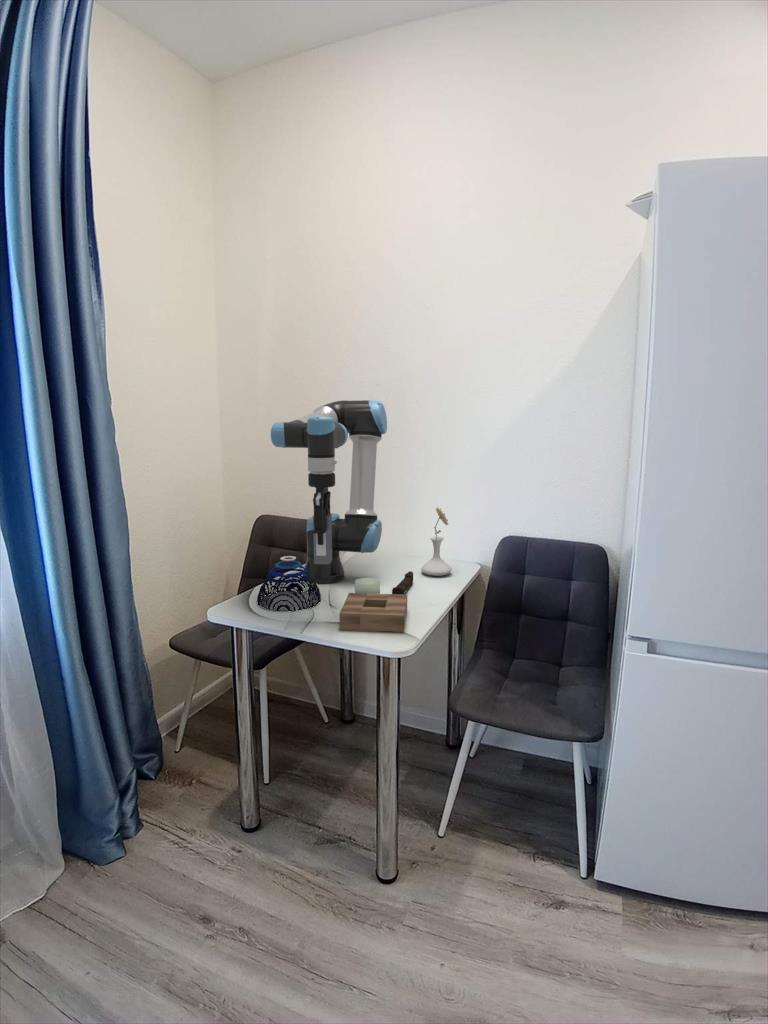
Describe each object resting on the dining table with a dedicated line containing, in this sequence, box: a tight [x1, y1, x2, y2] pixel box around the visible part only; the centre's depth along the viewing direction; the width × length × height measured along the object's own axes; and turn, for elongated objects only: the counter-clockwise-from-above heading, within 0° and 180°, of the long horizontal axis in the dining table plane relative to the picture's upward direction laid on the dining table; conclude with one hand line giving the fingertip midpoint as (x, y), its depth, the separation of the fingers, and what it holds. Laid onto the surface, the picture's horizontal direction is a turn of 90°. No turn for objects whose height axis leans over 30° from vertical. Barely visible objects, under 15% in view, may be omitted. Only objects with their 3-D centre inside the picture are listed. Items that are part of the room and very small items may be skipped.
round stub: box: [354, 577, 381, 594], centre depth 182 cm, size 8×8×7 cm
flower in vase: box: [420, 506, 452, 577], centre depth 213 cm, size 13×11×25 cm
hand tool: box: [391, 570, 414, 594], centre depth 195 cm, size 19×4×5 cm, turn 160°
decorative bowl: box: [256, 555, 322, 612], centre depth 183 cm, size 20×20×14 cm
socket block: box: [339, 592, 408, 633], centre depth 167 cm, size 18×18×5 cm
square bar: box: [312, 512, 333, 564], centre depth 164 cm, size 4×4×14 cm
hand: (323, 552), depth 164 cm, fingers closed on square bar, 4 cm apart
